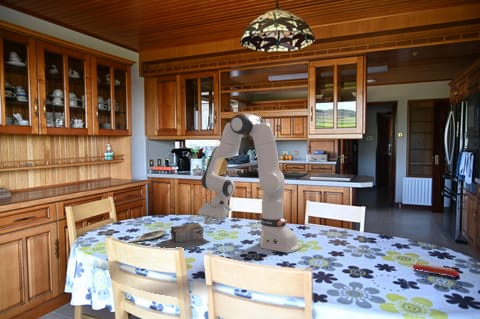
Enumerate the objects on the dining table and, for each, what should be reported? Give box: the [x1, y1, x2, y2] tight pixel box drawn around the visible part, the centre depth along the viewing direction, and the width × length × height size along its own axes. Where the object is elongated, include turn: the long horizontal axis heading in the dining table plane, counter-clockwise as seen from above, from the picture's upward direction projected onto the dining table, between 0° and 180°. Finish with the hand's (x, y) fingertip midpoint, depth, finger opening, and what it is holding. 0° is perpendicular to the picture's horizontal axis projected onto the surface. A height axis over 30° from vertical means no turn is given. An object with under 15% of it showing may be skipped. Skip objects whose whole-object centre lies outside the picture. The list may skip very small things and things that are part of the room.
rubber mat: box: [155, 238, 211, 251], centre depth 169 cm, size 18×22×1 cm
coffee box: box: [170, 223, 204, 242], centre depth 176 cm, size 9×6×16 cm
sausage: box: [412, 262, 460, 276], centre depth 129 cm, size 16×4×3 cm, turn 59°
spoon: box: [128, 229, 167, 244], centre depth 174 cm, size 35×11×2 cm, turn 139°
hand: (205, 223), depth 180 cm, fingers closed
